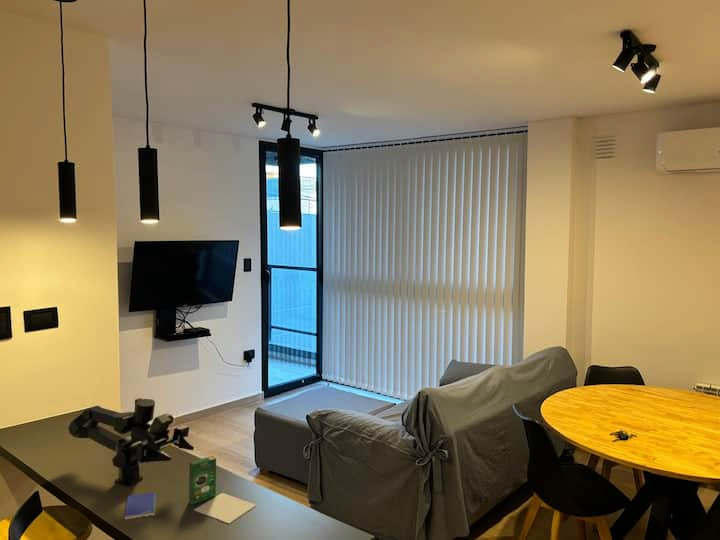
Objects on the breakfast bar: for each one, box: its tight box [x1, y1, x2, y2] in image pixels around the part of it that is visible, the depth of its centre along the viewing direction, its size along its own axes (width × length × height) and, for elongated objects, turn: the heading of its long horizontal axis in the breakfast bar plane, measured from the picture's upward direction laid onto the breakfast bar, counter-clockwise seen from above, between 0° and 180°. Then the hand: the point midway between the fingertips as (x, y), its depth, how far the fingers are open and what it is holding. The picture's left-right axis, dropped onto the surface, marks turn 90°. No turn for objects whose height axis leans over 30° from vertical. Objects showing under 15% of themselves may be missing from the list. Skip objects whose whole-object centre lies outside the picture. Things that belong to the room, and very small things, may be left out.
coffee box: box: [188, 455, 217, 505], centre depth 173 cm, size 8×3×13 cm, turn 130°
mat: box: [193, 492, 257, 525], centre depth 169 cm, size 14×12×1 cm
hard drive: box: [124, 492, 156, 520], centre depth 169 cm, size 2×8×12 cm
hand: (182, 453), depth 171 cm, fingers open, 9 cm apart
